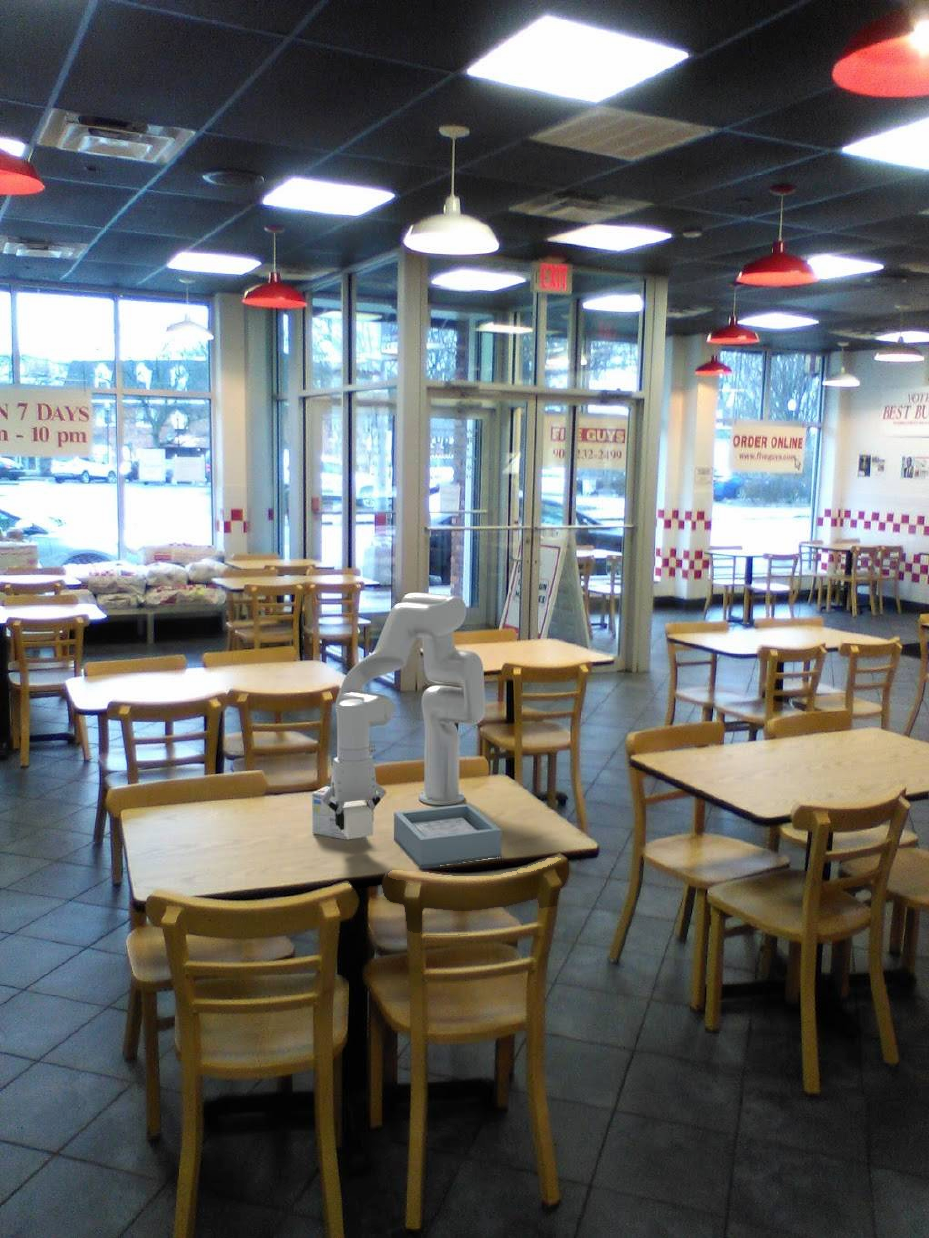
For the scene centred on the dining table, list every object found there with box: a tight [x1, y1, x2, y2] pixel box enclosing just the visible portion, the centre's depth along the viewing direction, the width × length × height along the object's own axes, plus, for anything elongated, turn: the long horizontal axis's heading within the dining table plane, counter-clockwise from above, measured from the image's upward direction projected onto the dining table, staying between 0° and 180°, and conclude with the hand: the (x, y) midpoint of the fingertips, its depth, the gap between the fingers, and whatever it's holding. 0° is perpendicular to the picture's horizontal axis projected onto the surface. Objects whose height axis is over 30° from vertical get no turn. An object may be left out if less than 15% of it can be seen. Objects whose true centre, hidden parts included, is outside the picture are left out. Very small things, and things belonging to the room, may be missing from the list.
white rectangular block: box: [337, 800, 374, 840], centre depth 253 cm, size 9×6×6 cm, turn 24°
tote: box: [393, 803, 502, 870], centre depth 257 cm, size 20×20×7 cm
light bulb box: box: [311, 785, 350, 841], centre depth 267 cm, size 11×7×11 cm, turn 65°
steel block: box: [412, 817, 477, 837], centre depth 257 cm, size 13×13×4 cm
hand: (354, 825), depth 253 cm, fingers closed on white rectangular block, 6 cm apart
